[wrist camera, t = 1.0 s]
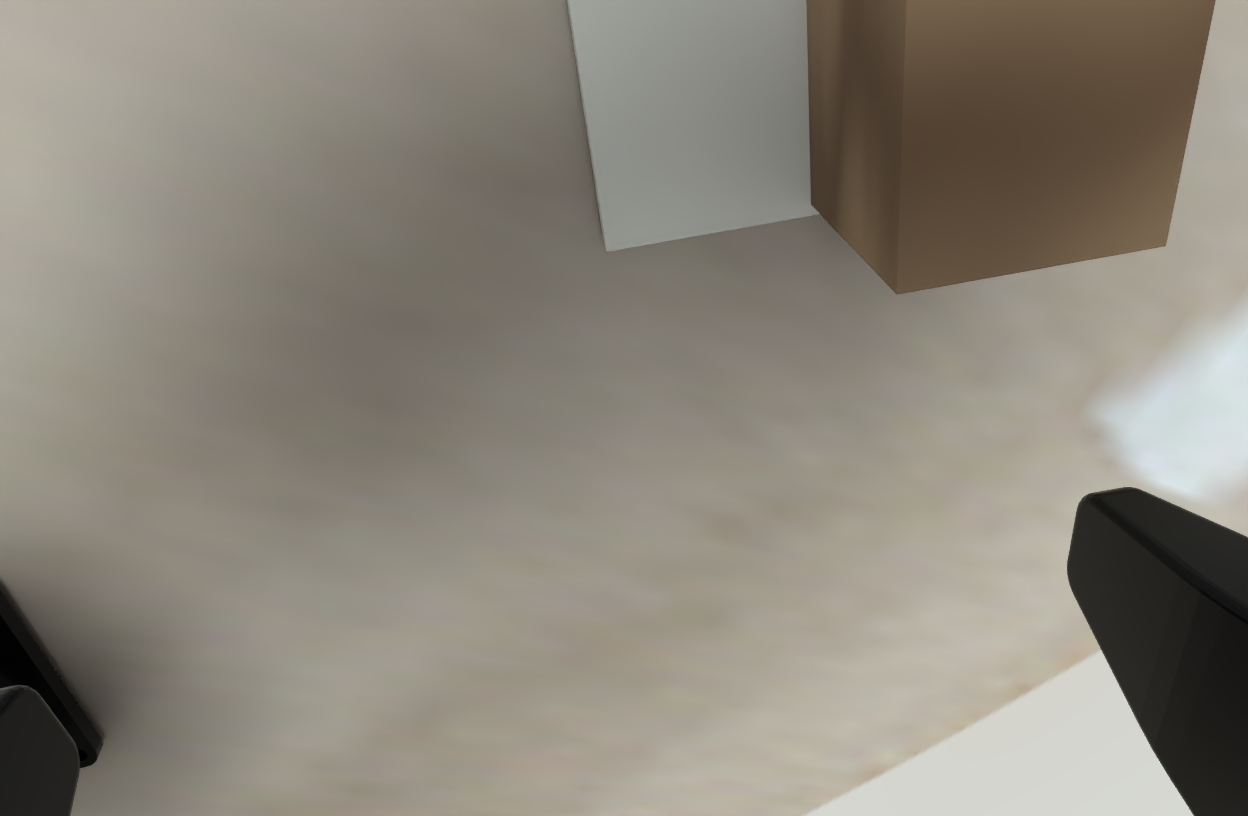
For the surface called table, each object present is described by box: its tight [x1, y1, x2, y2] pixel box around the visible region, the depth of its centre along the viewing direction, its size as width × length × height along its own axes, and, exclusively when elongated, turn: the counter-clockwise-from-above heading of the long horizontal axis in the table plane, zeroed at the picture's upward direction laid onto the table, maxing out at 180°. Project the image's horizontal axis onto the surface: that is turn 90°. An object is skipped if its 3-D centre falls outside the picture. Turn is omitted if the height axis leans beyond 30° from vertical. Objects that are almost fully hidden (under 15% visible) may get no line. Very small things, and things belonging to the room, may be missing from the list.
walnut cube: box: [806, 0, 1215, 294], centre depth 15 cm, size 4×4×4 cm
